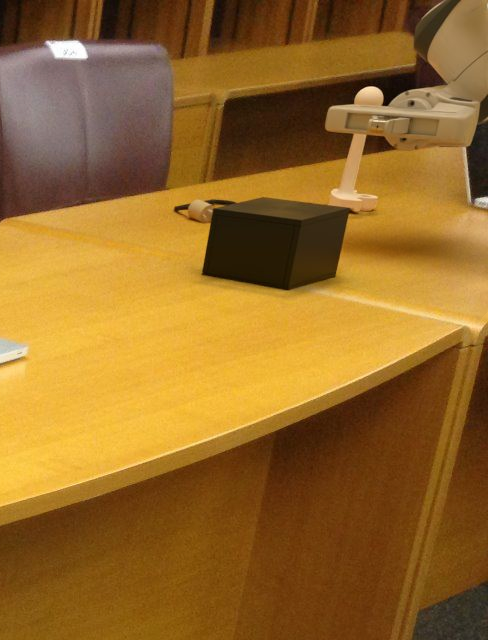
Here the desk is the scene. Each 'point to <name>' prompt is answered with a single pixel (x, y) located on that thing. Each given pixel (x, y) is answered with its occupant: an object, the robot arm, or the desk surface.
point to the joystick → (356, 163)
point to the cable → (202, 209)
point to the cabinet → (275, 242)
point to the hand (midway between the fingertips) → (377, 126)
